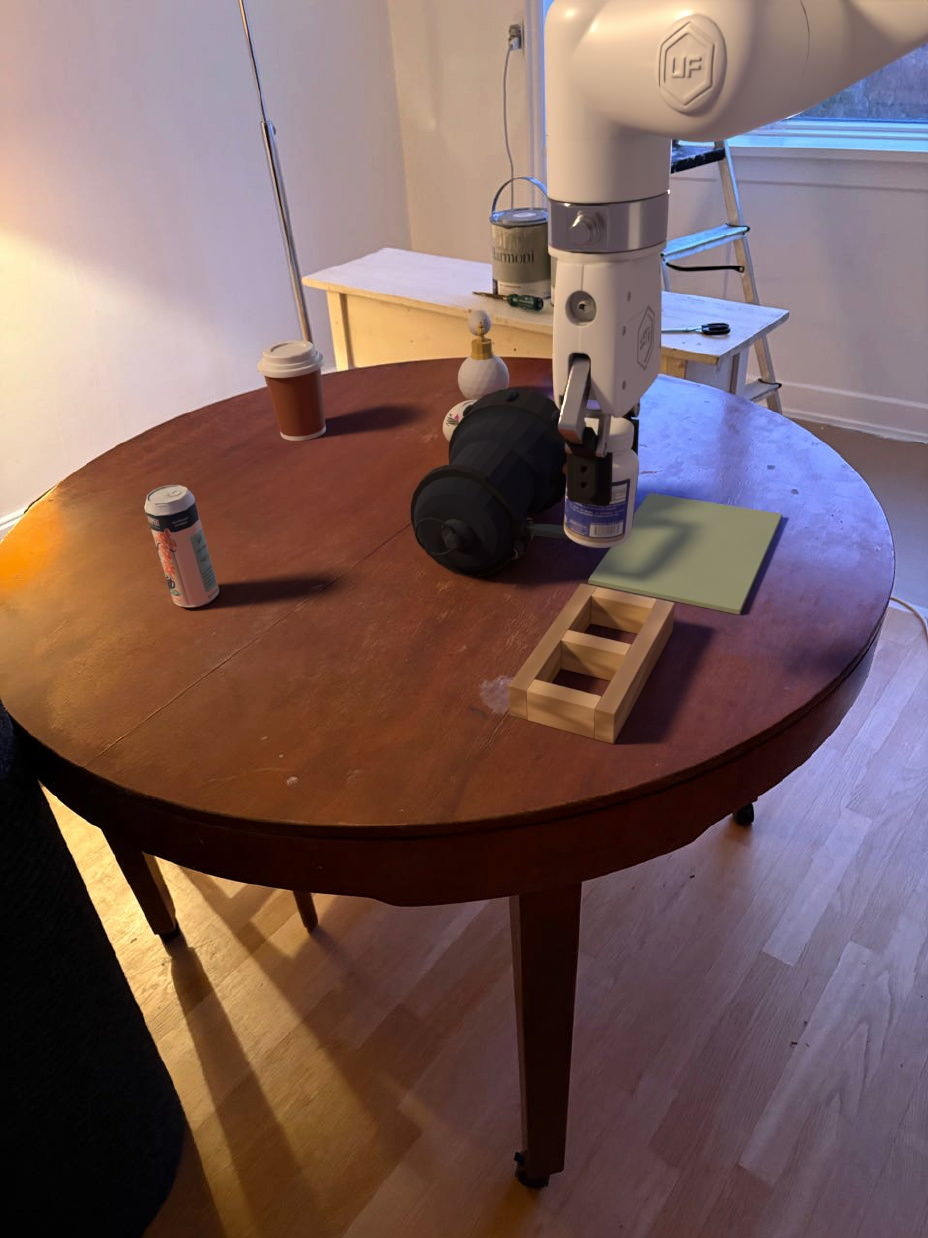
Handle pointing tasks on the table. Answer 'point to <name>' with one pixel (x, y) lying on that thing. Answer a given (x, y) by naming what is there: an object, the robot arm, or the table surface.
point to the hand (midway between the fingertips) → (603, 482)
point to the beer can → (181, 545)
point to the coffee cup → (295, 388)
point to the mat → (690, 552)
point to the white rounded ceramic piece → (454, 418)
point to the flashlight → (493, 484)
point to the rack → (592, 662)
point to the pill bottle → (617, 518)
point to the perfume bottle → (481, 362)
